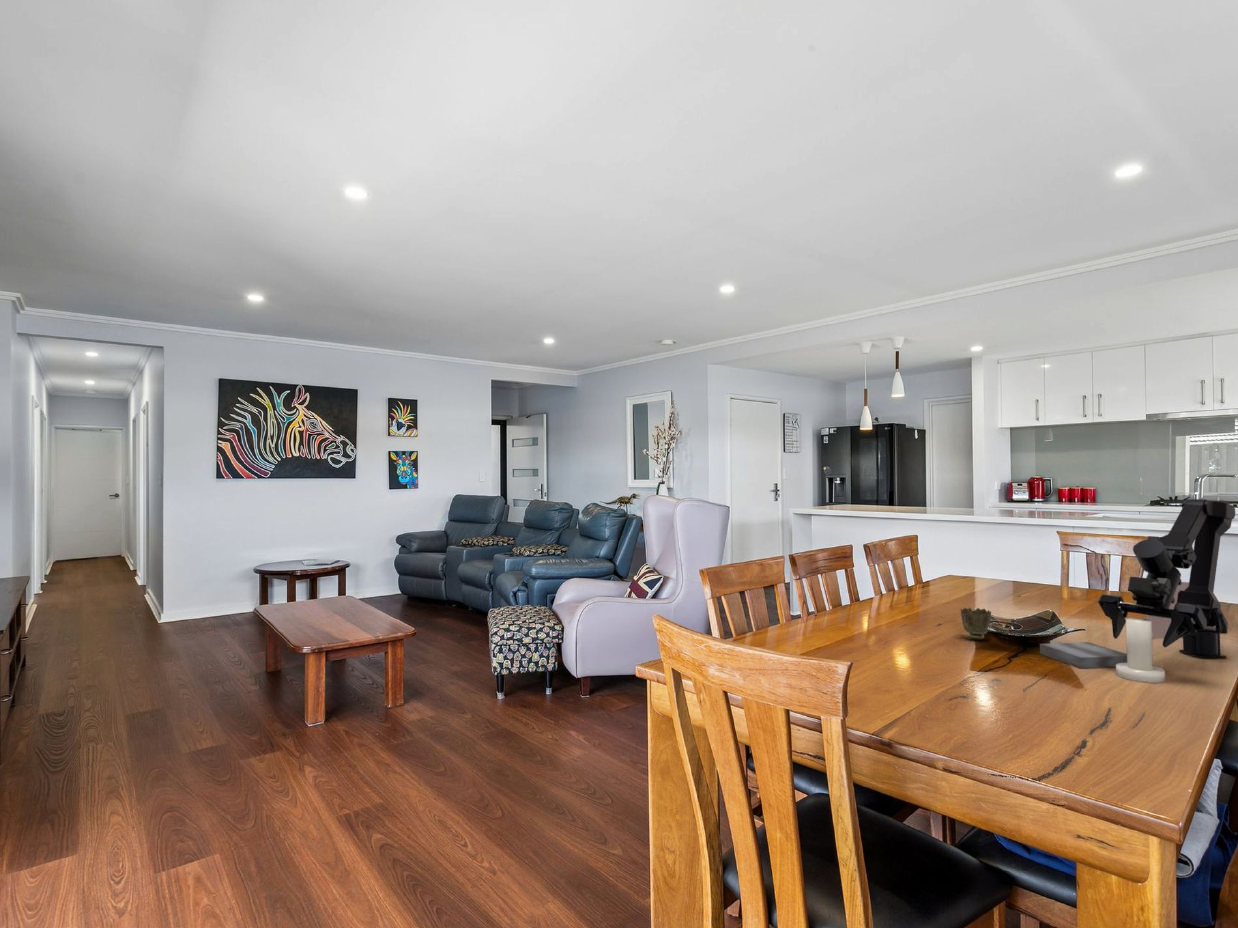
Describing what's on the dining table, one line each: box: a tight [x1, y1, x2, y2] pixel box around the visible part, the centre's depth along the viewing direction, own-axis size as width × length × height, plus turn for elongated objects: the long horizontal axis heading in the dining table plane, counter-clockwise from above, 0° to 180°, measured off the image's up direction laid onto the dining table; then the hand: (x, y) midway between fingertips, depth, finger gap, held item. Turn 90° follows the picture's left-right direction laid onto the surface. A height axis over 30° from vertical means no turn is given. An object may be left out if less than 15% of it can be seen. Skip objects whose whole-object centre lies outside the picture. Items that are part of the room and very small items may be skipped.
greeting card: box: [1144, 581, 1189, 639], centre depth 182 cm, size 11×7×15 cm, turn 46°
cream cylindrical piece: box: [1115, 617, 1166, 684], centre depth 147 cm, size 8×8×12 cm
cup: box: [960, 607, 992, 641], centre depth 182 cm, size 8×7×8 cm
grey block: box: [1039, 641, 1127, 669], centre depth 161 cm, size 13×13×2 cm
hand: (1138, 641), depth 147 cm, fingers open, 9 cm apart
